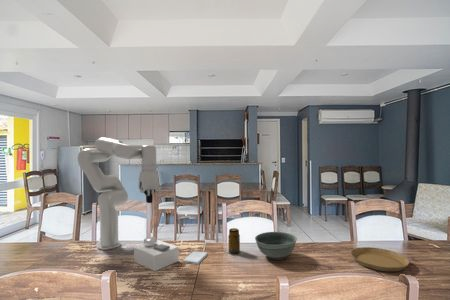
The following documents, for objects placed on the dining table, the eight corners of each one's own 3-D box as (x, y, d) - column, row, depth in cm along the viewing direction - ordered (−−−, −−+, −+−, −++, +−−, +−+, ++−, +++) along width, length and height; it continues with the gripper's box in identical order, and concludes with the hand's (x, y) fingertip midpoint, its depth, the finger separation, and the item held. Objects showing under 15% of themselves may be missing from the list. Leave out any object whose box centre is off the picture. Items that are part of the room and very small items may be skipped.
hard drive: (193, 250, 139) (182, 260, 127) (207, 252, 137) (197, 262, 125) (193, 254, 139) (182, 263, 127) (207, 255, 137) (197, 265, 125)
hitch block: (133, 261, 129) (133, 247, 129) (157, 252, 140) (157, 239, 140) (154, 271, 118) (154, 255, 118) (178, 260, 129) (178, 246, 129)
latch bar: (153, 249, 126) (153, 246, 126) (161, 246, 130) (161, 243, 130) (162, 251, 122) (161, 248, 122) (170, 248, 126) (170, 245, 126)
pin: (141, 257, 131) (141, 239, 131) (152, 253, 136) (152, 236, 136) (148, 260, 127) (148, 242, 127) (159, 256, 132) (159, 238, 132)
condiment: (234, 248, 145) (234, 226, 145) (245, 252, 138) (245, 230, 138) (224, 251, 140) (224, 229, 140) (235, 256, 134) (234, 233, 134)
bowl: (298, 267, 121) (298, 245, 121) (253, 263, 125) (253, 242, 125) (295, 250, 141) (295, 231, 141) (256, 247, 145) (256, 229, 145)
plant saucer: (339, 257, 132) (339, 250, 132) (374, 250, 140) (374, 244, 140) (383, 279, 109) (383, 271, 109) (422, 269, 118) (421, 261, 118)
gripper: (156, 167, 147) (156, 199, 147) (132, 168, 136) (132, 204, 136) (164, 167, 143) (165, 201, 143) (140, 169, 131) (141, 205, 131)
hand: (149, 202), depth 139 cm, fingers closed
